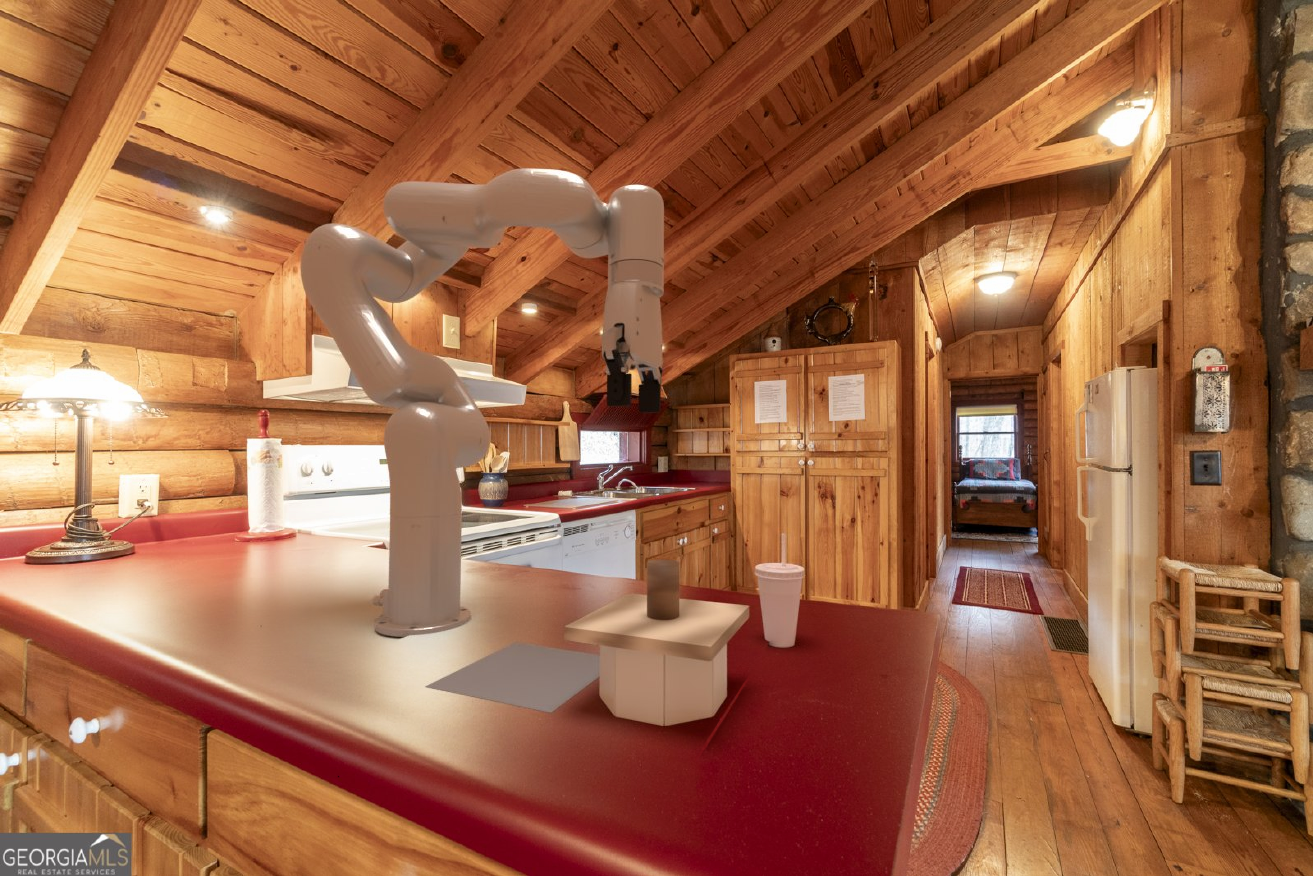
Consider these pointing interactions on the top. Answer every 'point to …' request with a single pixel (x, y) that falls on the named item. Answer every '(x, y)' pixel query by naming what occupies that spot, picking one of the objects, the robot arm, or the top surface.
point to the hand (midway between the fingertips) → (635, 409)
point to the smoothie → (780, 599)
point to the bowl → (661, 685)
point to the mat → (525, 676)
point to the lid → (661, 620)
